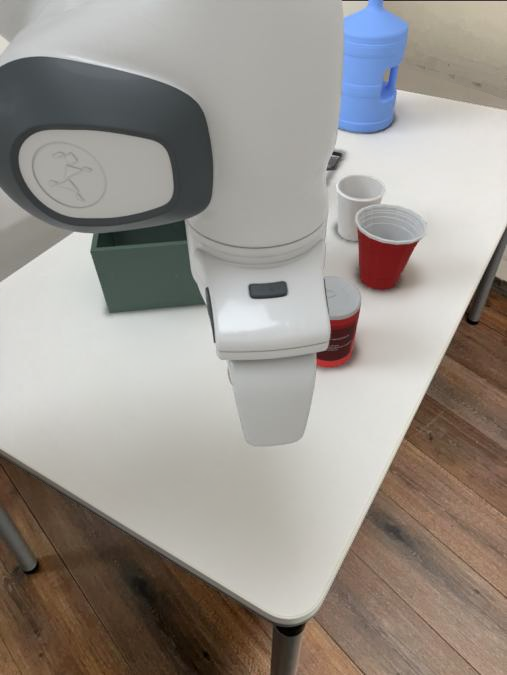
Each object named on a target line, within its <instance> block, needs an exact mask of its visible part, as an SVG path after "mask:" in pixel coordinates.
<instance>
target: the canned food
mask: <svg viewBox="0 0 507 675" xmlns="http://www.w3.org/2000/svg"><path fill="white" fill-rule="evenodd" d="M324 279H325V285H326V295H327V302H328V308H329V320H330V328H331V331H330V340H329V345H328V348H327V349H326V350H325V351H321V352H316V367H320V368H324V369H325V368H327V369H329V368H330V369H331V368H337V367H340V366H343V365H344V364H346V363H347V362H348V361H349V360H350V358H351V357H352V353H353V349H354V344H355V339H356V333H357V329H358V324H359V319H360V314H361V307H362V295H361V292H360V290H359V289H358V287H357V286H356V285H354V283H352V282H350V280H347V279H344V278H343V277H339V276H332V275H325V276H324Z"/></svg>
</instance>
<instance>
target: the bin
mask: <svg viewBox="0 0 507 675" xmlns="http://www.w3.org/2000/svg"><path fill="white" fill-rule="evenodd" d="M89 252H90V256H91V259H92V262H93V265H94V266H93V267H94V269H95V272H96V276H97V278H98V281H99V284H100V287H101V288H100V289H101V291H102V294H103V297H104V300H105V304H106V305H107V309H108V313H109V314H114V313H123V312H135V311H146V310H147V311H148V310H158V309H168V308H178V307H179V308H181V307H190V306H200V305H201V306H203V305H206V304H205V301H204V299H203V297H202V295H201V293H200V290H199V287H198V285H197V283H196V281H195V280H194V278H193V275H192V272H191V267H190V259H189V251H188V242H187V235H186V227H185V220H182V221H178V222H174V223H169V224H165V225H159V226H154V227H147V228H141V229H134V230H126V231H118V232H109V233H92V239H91V244H90V250H89Z"/></svg>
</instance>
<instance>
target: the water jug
mask: <svg viewBox="0 0 507 675" xmlns="http://www.w3.org/2000/svg"><path fill="white" fill-rule="evenodd" d="M367 1H368V2H367V6H366V7H364V8H362V9H360V10H358V11H356V12H353V13H351V14H349V15H347V16H344V17H343V20H344V57H343V79H342V94H341V106H340V116H339V125H338V130H341V131H345V132H348V133H354V134H373V133H376V132H380V131H383V130H385V129H386V128H388V127H390V125H391V124H392V122H393V120H394V114H395V106H396V99H397V94H398V90H397V88H396V86H397V79H398V74H399V68H400V65H401V63H402V62H403V61H404V55H405V50H406V48H407V42H408V36H409V35H408V33H409V24H408V23H407V21H405V20H404V19H402V18H401V17H399V16H397V15H396V14H394V13H392V12H390V11H389V10H387V8H384V0H367ZM389 69H390V70H389ZM388 70H389V75H388V81H385V80H384V77H385V76H384V75H385V73H386V72H387V71H388Z"/></svg>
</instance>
